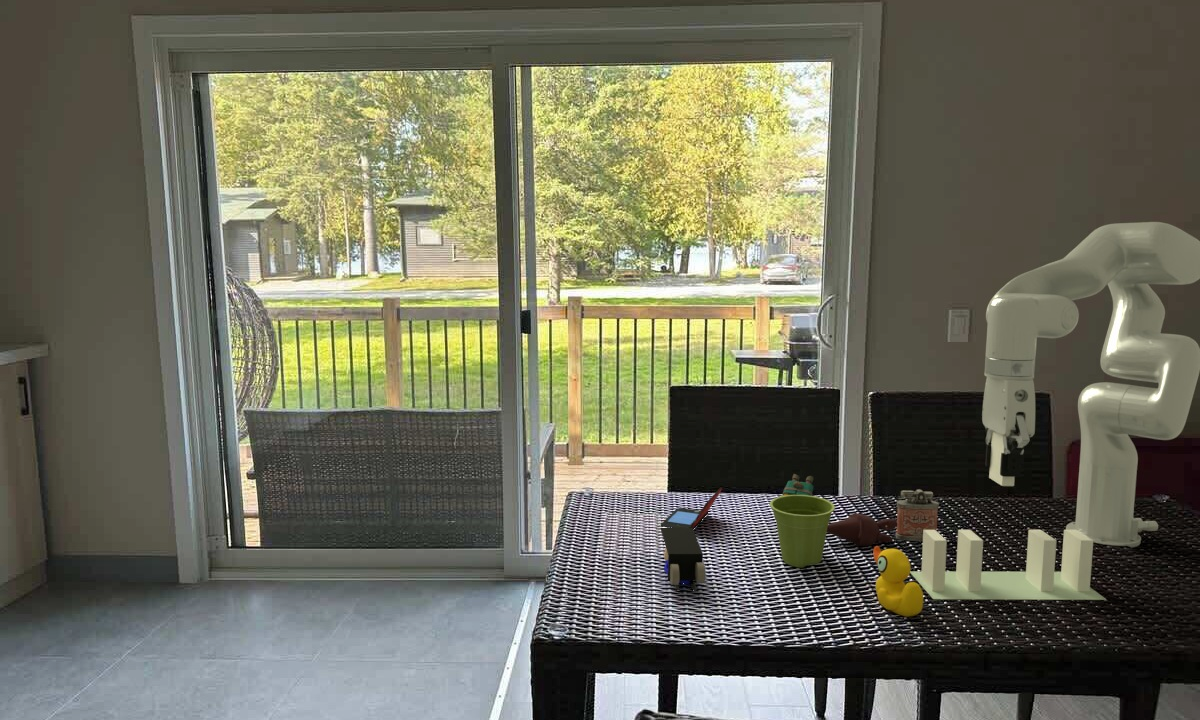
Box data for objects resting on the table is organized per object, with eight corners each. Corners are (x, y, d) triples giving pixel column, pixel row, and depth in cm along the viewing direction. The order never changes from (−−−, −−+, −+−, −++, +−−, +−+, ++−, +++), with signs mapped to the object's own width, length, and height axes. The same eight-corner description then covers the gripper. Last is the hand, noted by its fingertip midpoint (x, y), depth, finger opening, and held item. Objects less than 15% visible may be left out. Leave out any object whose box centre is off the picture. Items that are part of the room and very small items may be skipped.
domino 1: (932, 578, 133) (934, 529, 131) (944, 591, 128) (946, 540, 126) (921, 578, 133) (923, 529, 131) (932, 591, 128) (934, 540, 126)
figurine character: (708, 603, 130) (692, 559, 144) (709, 563, 128) (693, 523, 142) (669, 605, 129) (657, 561, 144) (670, 565, 127) (658, 524, 142)
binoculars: (777, 525, 168) (770, 497, 162) (788, 495, 173) (781, 466, 168) (818, 532, 163) (812, 503, 157) (828, 501, 169) (822, 472, 163)
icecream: (828, 524, 144) (906, 528, 145) (818, 502, 151) (892, 507, 152) (822, 554, 147) (898, 558, 148) (812, 531, 154) (884, 536, 154)
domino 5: (1072, 578, 131) (1075, 529, 130) (1089, 591, 126) (1093, 540, 125) (1060, 578, 131) (1064, 529, 130) (1077, 591, 127) (1081, 540, 125)
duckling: (859, 597, 128) (861, 541, 126) (887, 593, 129) (889, 537, 128) (902, 628, 117) (904, 567, 115) (931, 623, 118) (934, 563, 117)
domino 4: (1037, 578, 132) (1040, 529, 130) (1052, 591, 127) (1056, 540, 125) (1025, 578, 132) (1028, 529, 131) (1040, 591, 127) (1044, 540, 126)
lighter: (933, 534, 155) (935, 488, 154) (939, 541, 152) (941, 493, 150) (893, 534, 156) (895, 487, 154) (898, 540, 152) (900, 492, 151)
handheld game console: (677, 512, 172) (677, 480, 171) (723, 518, 168) (723, 486, 167) (658, 530, 161) (658, 497, 160) (706, 537, 157) (706, 503, 156)
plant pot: (772, 546, 151) (773, 492, 149) (834, 553, 147) (836, 497, 145) (765, 569, 140) (766, 511, 138) (831, 577, 136) (833, 517, 134)
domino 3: (1000, 477, 134) (1003, 428, 133) (1013, 486, 129) (1017, 434, 128) (989, 477, 134) (992, 428, 133) (1001, 485, 129) (1005, 434, 128)
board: (1068, 575, 134) (1068, 571, 134) (1106, 604, 124) (1106, 599, 123) (909, 575, 136) (909, 571, 136) (933, 603, 125) (933, 598, 125)
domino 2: (967, 578, 132) (969, 529, 131) (980, 591, 127) (983, 540, 126) (955, 578, 132) (958, 529, 131) (968, 591, 127) (970, 540, 126)
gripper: (1058, 376, 120) (1050, 486, 122) (1008, 362, 137) (1002, 459, 139) (1010, 375, 120) (1002, 485, 123) (966, 361, 137) (960, 458, 140)
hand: (1002, 470), depth 131 cm, fingers closed on domino 3, 4 cm apart
